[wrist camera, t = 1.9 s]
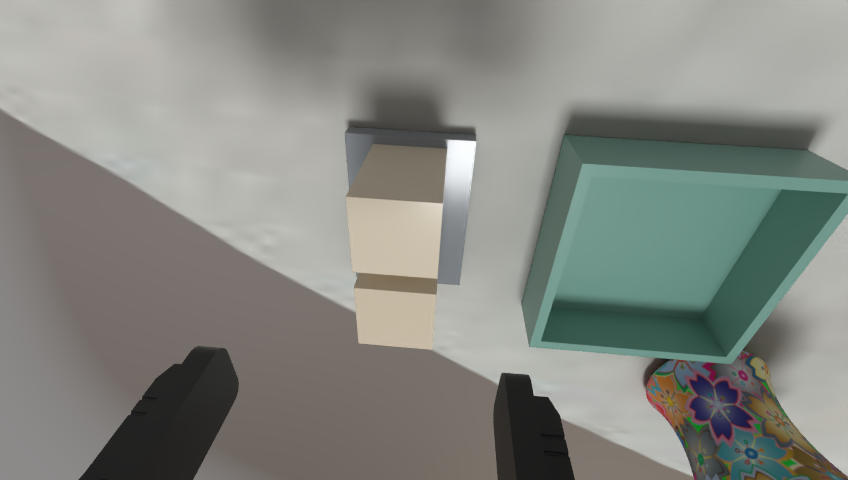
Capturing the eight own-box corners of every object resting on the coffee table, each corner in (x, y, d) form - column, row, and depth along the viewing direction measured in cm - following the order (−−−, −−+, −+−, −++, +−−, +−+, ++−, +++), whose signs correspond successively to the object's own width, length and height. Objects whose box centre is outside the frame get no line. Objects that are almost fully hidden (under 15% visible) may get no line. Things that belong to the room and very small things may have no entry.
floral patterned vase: (611, 381, 32) (667, 534, 23) (713, 317, 27) (832, 479, 18) (707, 431, 35) (790, 584, 26) (815, 381, 30) (960, 548, 21)
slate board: (349, 126, 21) (344, 132, 21) (475, 134, 21) (476, 141, 20) (359, 267, 27) (356, 276, 26) (459, 275, 27) (459, 285, 26)
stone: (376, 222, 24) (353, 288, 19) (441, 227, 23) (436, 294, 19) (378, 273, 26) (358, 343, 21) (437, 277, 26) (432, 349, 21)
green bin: (564, 135, 21) (582, 163, 18) (808, 150, 20) (871, 182, 17) (521, 305, 28) (529, 346, 25) (700, 319, 27) (731, 364, 24)
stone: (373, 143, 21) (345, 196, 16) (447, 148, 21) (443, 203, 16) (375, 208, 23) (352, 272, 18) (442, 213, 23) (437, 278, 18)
